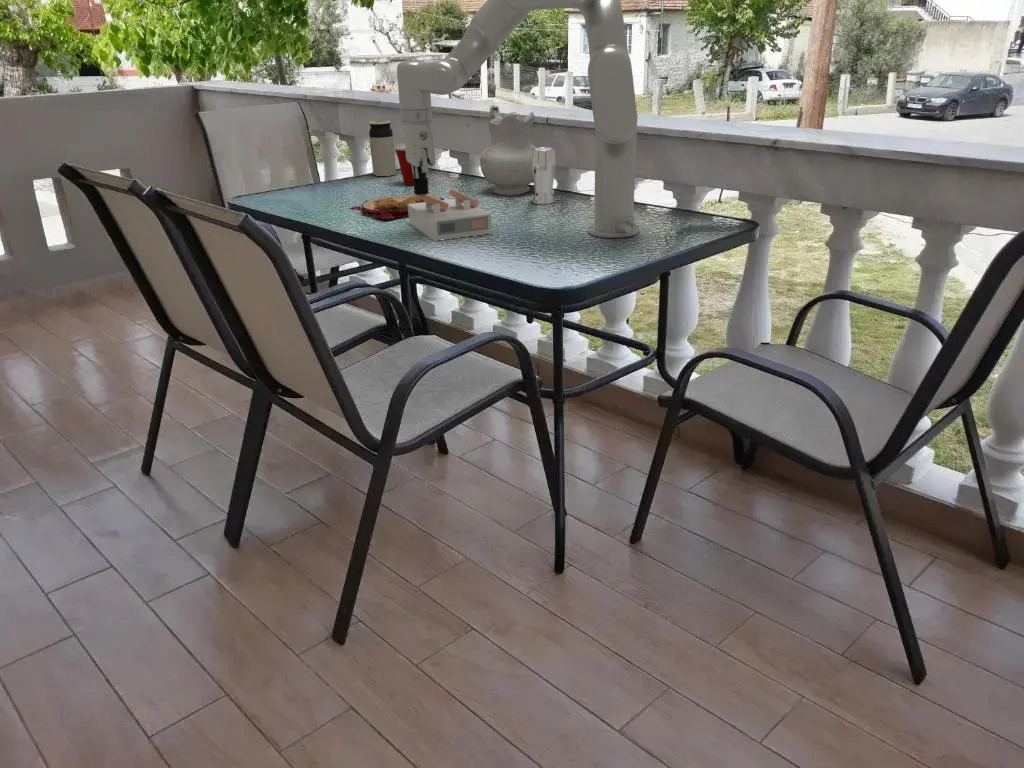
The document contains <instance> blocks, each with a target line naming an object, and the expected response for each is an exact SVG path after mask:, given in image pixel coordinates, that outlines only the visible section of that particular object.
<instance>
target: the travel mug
mask: <svg viewBox="0 0 1024 768" xmlns="http://www.w3.org/2000/svg"><path fill="white" fill-rule="evenodd" d="M391 123H392V121H391V120H372V121H369V122H368V124H369V127H370V129H369V132H368V134H369V143H370V144H369V145H370V155H371V165H372V174H374V175H376V176H375V177H377V176H388V177H392V176H391V175H393V176H395V175H396V174H397V169H396V168H397V167H396V158H395V149H394V148H395V146H394V134H393V130H392V127H391ZM374 175H373V176H374Z"/></svg>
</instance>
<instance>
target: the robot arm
mask: <svg viewBox="0 0 1024 768" xmlns="http://www.w3.org/2000/svg"><path fill="white" fill-rule="evenodd" d="M621 3H622V2H621V0H486V1H485V2H484V4H482V6H481V7H480V8H479V9H478V10H477V12H476V13H475V14H474V15H473V16H472V18H471V20H470V22H469V25H468V28H467V29H466V31H465V34H464V35H463V37H461V39H460V41H458V43H457V44H456V45H455V46H454V47H453V49H452V50H451V51H450V52H449V53H448V54H447V55H446V56H445V58H444V59H439V60H435V61H429V62H426V61H423V60H406V61H401V62H399V63H398V64H397V66H396V76H397V77H396V78H397V89H398V103H399V114H400V116H399V117H400V125H401V124H402V125H404V126H403V127H404V128H403V131H404V147H405V152H406V159H407V162H409V163H410V164H411V166H412V171H413V177H416V178H413V182H414V186H413V194H416V195H424V194H425V195H429V181H428V180H429V179H428V173H429V166H431V167H434V165H435V164H436V155H435V147H434V146H435V145H434V138H433V130H432V126H431V124H432V123H433V110H432V99H431V98H432V96H431V94H433V95H439V96H440V95H441V96H446V95H450V94H453V93H454V92H456V91H458V90H460V89H462V87H464V85H466V83H467V82H468V81H469V80H470V79H471V78H472V77H473V76H474V75H475V74H476V72H478V71H479V70H480V68H481V67H482V66H483V64H485V62H486V61H487V60H488V59H489V58H490V57H491V55H493V53H495V52H496V51H497V50H498V48H500V46H501V45H502V44H503V43H504V41H506V40H507V38H508V37H509V36H510V35H511V34H512V33H513V32H514V30H515V29H516V28H517V27H518V25H520V24H521V23H522V22H523V20H525V18H527V16H528V15H529V14H530V13H531V12H532V11H534V10H535V11H536V10H557V9H561V10H562V9H577V10H579V11H580V13H581V14H582V16H583V19H584V24H585V34H586V37H587V45H588V46H587V47H588V53H589V55H588V56H589V62H588V65H587V66H588V67H587V78H588V80H587V81H588V86H589V87H588V89H589V93H590V94H589V95H590V101H591V108H592V117H593V123H594V124H593V125H594V129H595V151H594V153H595V156H594V157H595V158H594V159H595V160H594V202H593V203H594V205H593V206H594V208H593V209H594V210H593V211H594V212H593V213H594V215H593V218H594V220H593V223H592V224H590V225H588V226H587V233H588V234H589V235H592V236H594V237H599V238H605V239H606V238H607V239H608V238H609V239H610V238H612V239H619V238H620V239H621V238H629V237H633V236H636V235H638V234H639V233H640V227H639V226H638V224H637V223H636V222H635V215H634V211H635V209H634V208H635V184H636V183H635V182H636V181H635V180H636V165H637V164H636V163H637V162H636V161H637V133H638V132H637V131H638V111H637V103H636V94H635V85H634V84H635V83H634V76H633V75H634V74H633V67H632V62H631V58H630V54H629V51H628V50H629V48H628V41H627V34H626V28H625V20H624V13H623V7H622V4H621ZM435 166H436V165H435Z"/></svg>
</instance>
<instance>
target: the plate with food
mask: <svg viewBox="0 0 1024 768" xmlns="http://www.w3.org/2000/svg"><path fill="white" fill-rule="evenodd" d="M427 195H428V196H431V197H433V198H436V199H439V200H445V198H443V197H440V196H437V195H433V194H427ZM418 197H419V195H416V194H415V193H413V194H401V195H397V194H396V195H394V194H393V195H392V196H381V197H378V198H372V199H370V200H369V199H368V200H367V199H365V201H364V202H363V203H362V204H361V205H357V206H351V207H349V208H348V210H349V209H351V210H350V211H354V210H355V211H360V212H361V213H360V212H357V214H359V213H360V214H359V215H361V214H362V213H363V214H362V215H366V216H365V217H371V218H373V219H375V220H377V219H378V220H379V219H380V220H390V219H391V220H394V219H398V218H403V219H405V218H408V217H409V215H408V204H413V203H422V202H424V201H422V200H421V199H419V198H418ZM362 210H363V212H362ZM377 213H379V214H377ZM362 215H361V216H362ZM369 215H370V216H369Z"/></svg>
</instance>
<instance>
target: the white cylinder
mask: <svg viewBox="0 0 1024 768" xmlns="http://www.w3.org/2000/svg"><path fill="white" fill-rule="evenodd" d="M531 172H532V178H533V183H532V184H533V188H534V191H533V192H534V193H533V200H532V203H533V204H535V205H550V204H554V203H555V199H554V192H553V190H554V188H553V187H554V186H553V185H554V179H555V174H556V152H555V148H554V147H547V146H544V147H543V146H542V147H541V146H540V147H536V148H533V149H531Z"/></svg>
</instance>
